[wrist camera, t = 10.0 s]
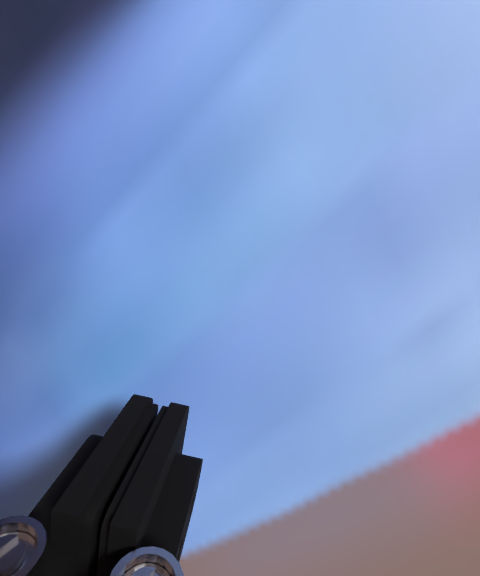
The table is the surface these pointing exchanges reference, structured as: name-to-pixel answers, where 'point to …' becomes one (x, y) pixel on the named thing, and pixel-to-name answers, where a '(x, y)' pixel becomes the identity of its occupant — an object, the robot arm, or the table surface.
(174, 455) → the robot arm
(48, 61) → the table surface
